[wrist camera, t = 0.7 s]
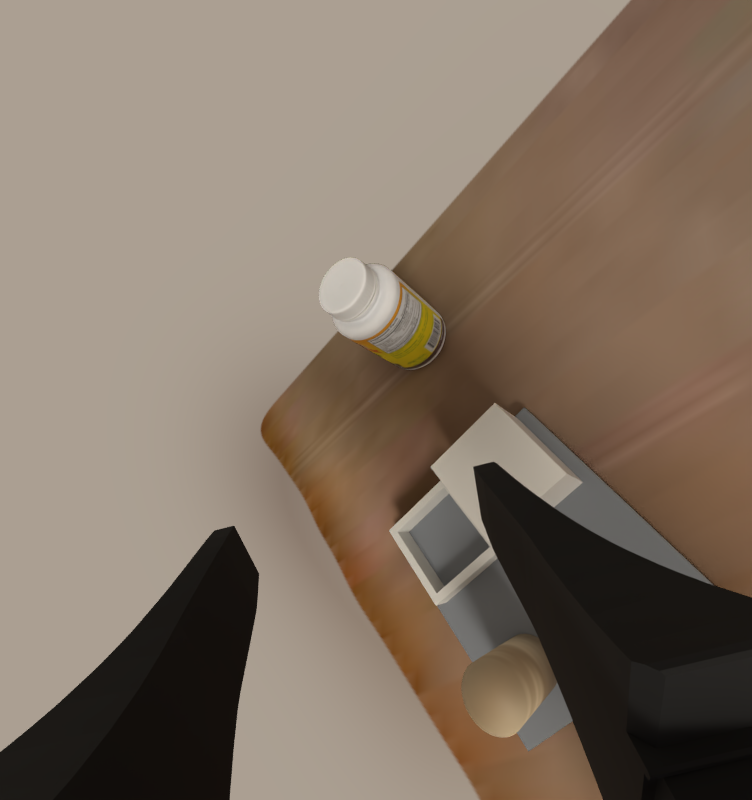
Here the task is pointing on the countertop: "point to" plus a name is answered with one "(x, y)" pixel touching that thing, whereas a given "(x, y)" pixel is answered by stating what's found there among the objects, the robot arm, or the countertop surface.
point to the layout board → (487, 581)
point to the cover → (502, 462)
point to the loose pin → (507, 685)
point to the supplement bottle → (382, 313)
